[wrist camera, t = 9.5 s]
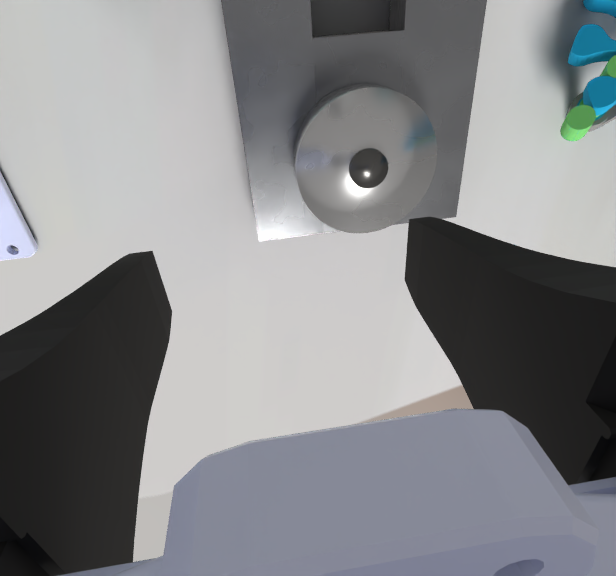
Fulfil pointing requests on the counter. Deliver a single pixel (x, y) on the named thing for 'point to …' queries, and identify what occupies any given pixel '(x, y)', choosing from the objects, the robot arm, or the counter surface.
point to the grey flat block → (353, 114)
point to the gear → (601, 90)
